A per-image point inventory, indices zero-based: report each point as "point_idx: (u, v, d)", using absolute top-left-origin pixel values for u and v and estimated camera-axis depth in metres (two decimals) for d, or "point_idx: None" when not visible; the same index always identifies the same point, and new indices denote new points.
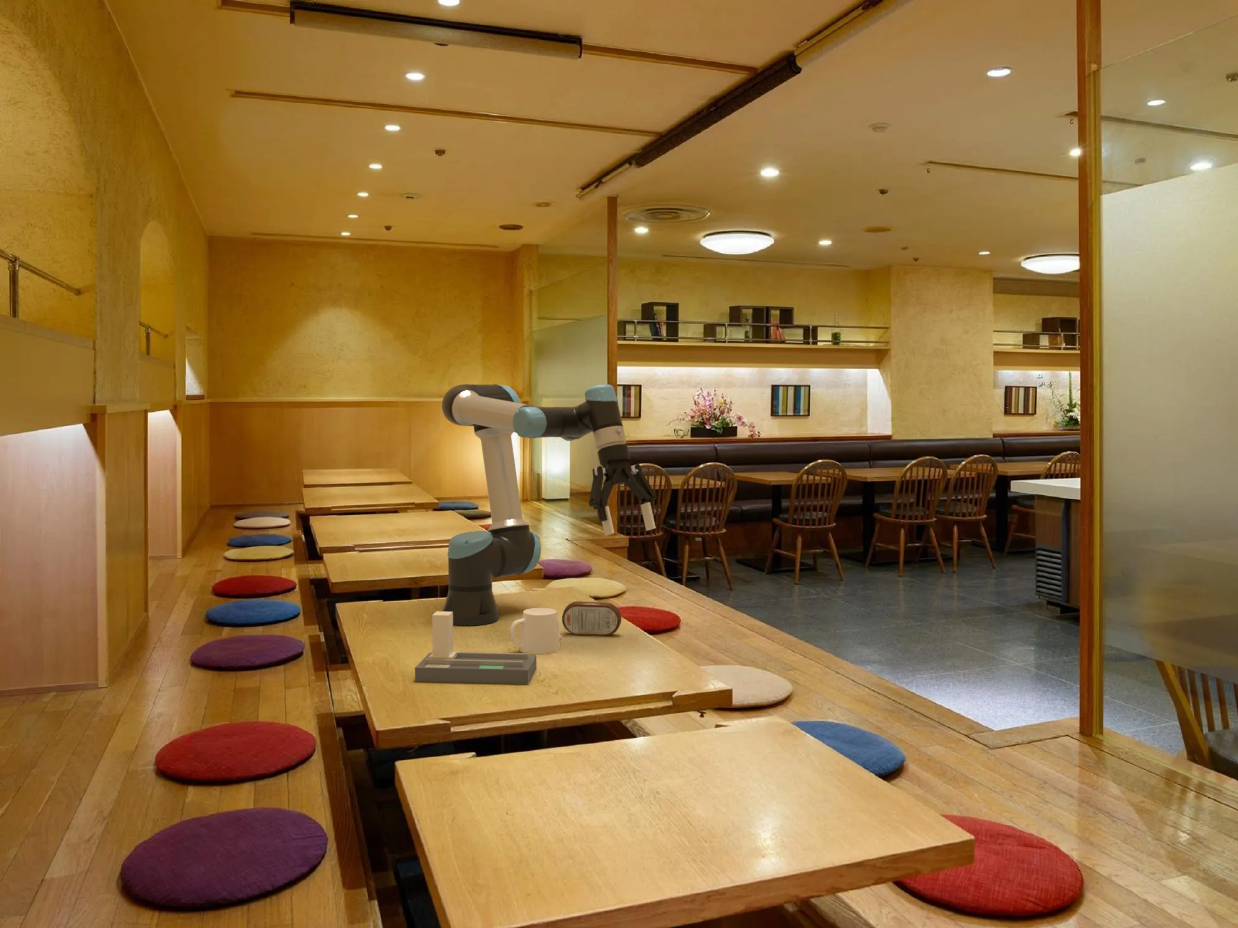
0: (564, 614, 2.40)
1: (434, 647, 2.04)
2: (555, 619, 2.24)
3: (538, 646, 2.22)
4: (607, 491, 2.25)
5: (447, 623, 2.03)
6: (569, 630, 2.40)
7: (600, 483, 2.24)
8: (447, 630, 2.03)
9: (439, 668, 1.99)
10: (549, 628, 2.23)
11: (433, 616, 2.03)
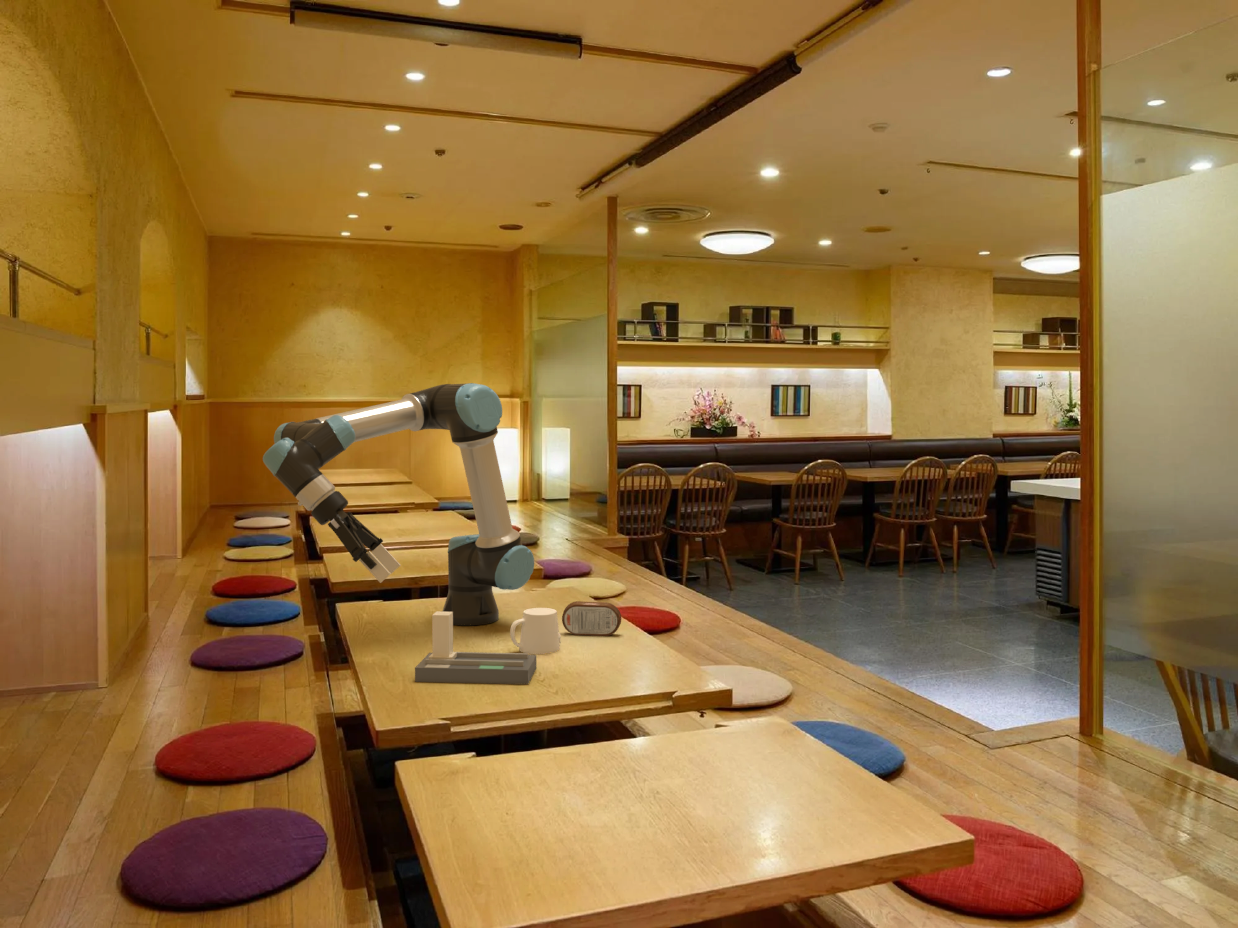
0: (564, 614, 2.40)
1: (434, 647, 2.04)
2: (555, 619, 2.24)
3: (538, 646, 2.22)
4: None
5: (447, 623, 2.03)
6: (569, 630, 2.40)
7: None
8: (447, 630, 2.03)
9: (439, 668, 1.99)
10: (549, 628, 2.23)
11: (433, 616, 2.03)
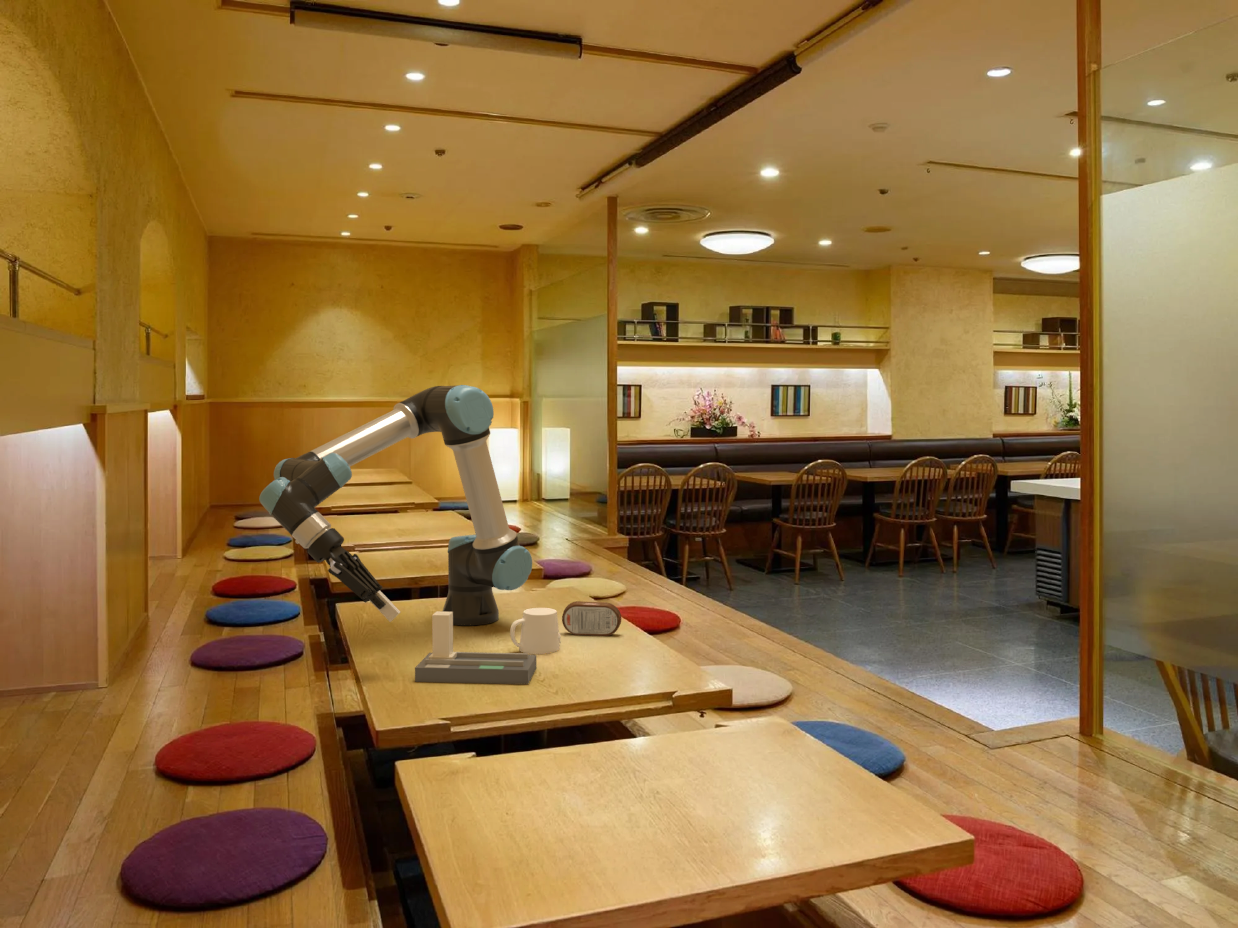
0: (564, 614, 2.40)
1: (434, 647, 2.04)
2: (555, 619, 2.24)
3: (538, 646, 2.22)
4: None
5: (447, 623, 2.03)
6: (569, 630, 2.40)
7: None
8: (447, 630, 2.03)
9: (439, 668, 1.99)
10: (549, 628, 2.23)
11: (433, 616, 2.03)
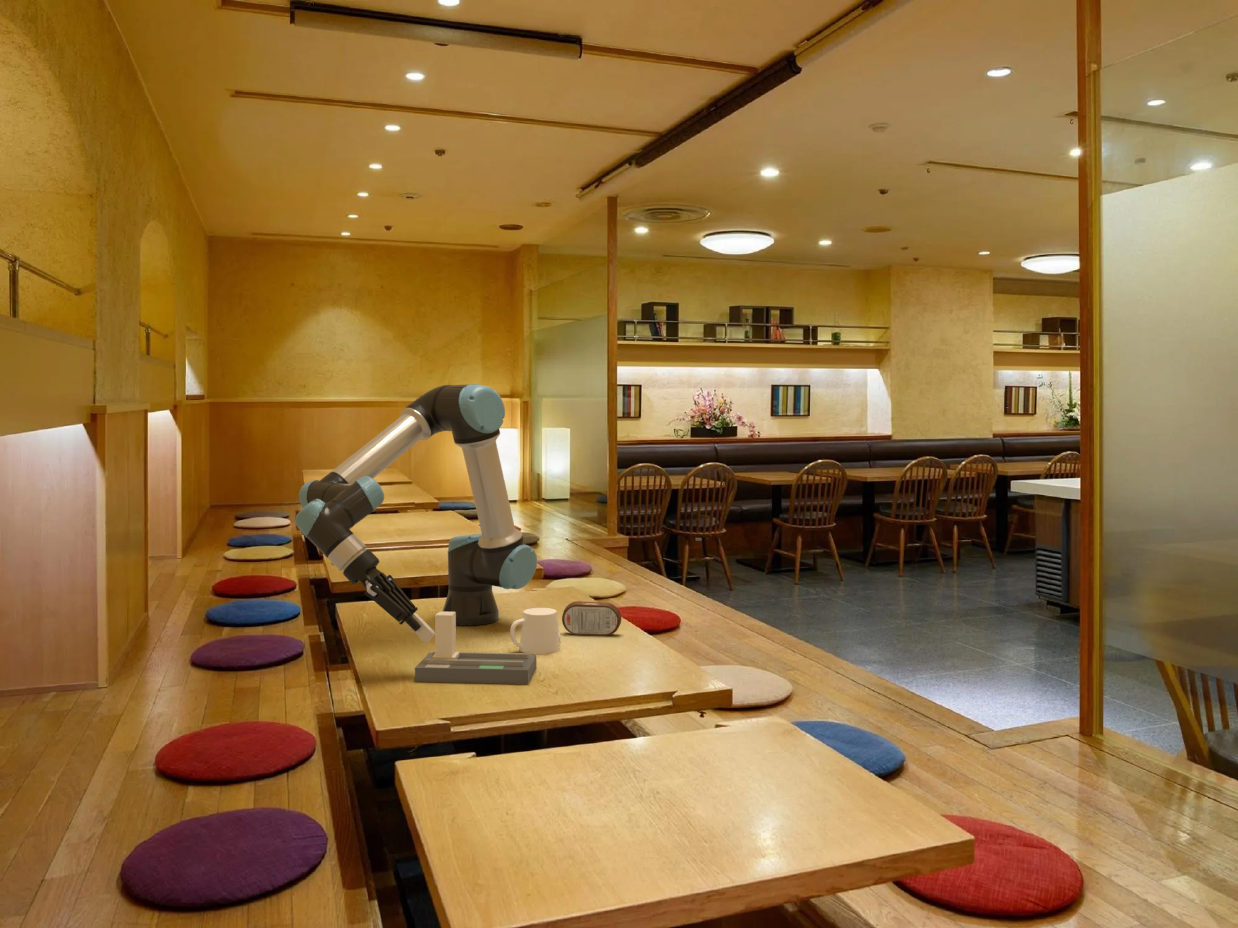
0: (564, 614, 2.40)
1: (437, 647, 2.04)
2: (555, 619, 2.24)
3: (538, 646, 2.22)
4: None
5: (450, 623, 2.03)
6: (569, 630, 2.40)
7: None
8: (450, 630, 2.03)
9: (439, 668, 1.99)
10: (549, 628, 2.23)
11: (436, 616, 2.03)
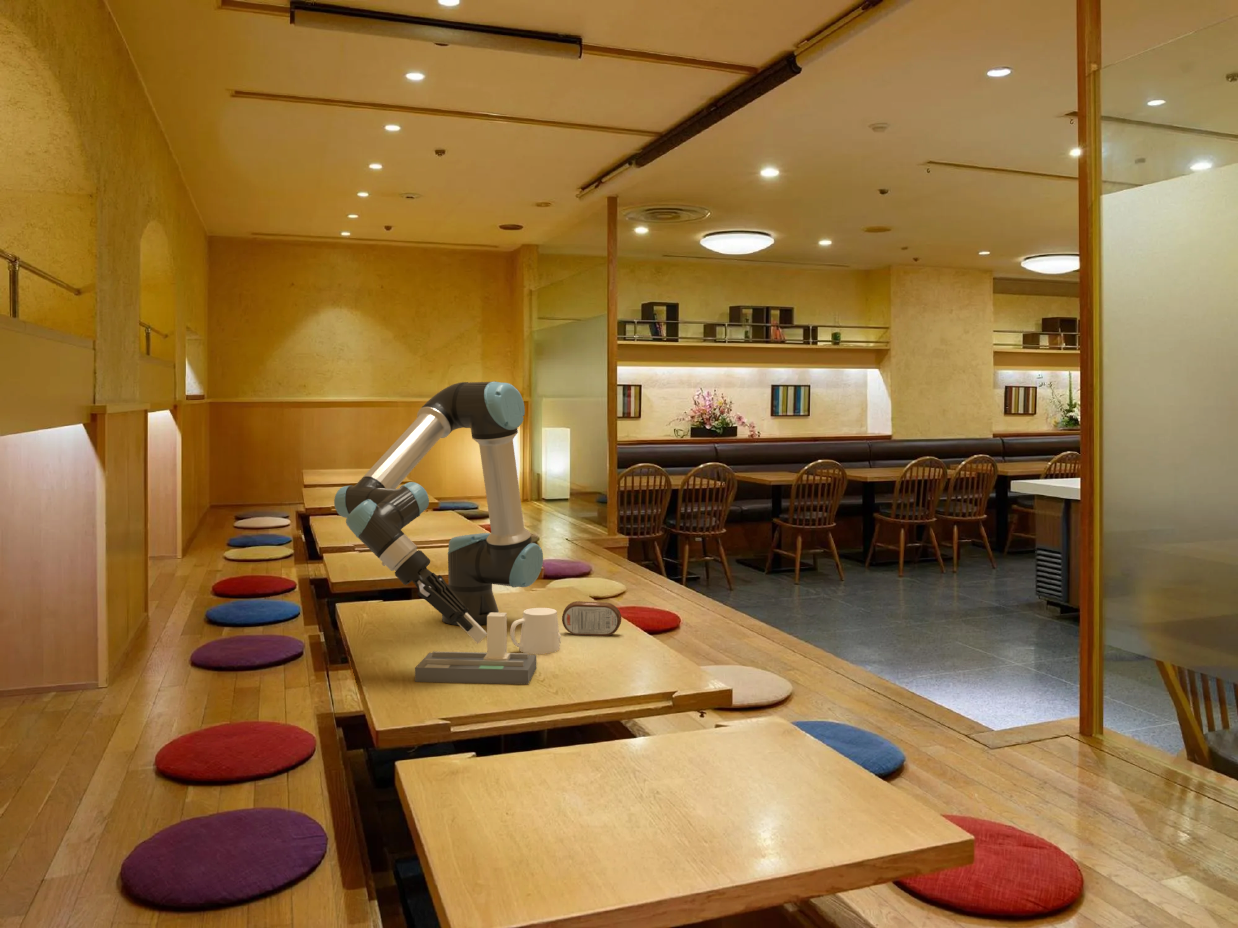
0: (564, 614, 2.40)
1: (489, 648, 2.03)
2: (555, 619, 2.24)
3: (538, 646, 2.22)
4: None
5: (502, 624, 2.02)
6: (569, 630, 2.40)
7: None
8: (502, 631, 2.02)
9: (439, 668, 1.99)
10: (549, 628, 2.23)
11: (488, 617, 2.02)
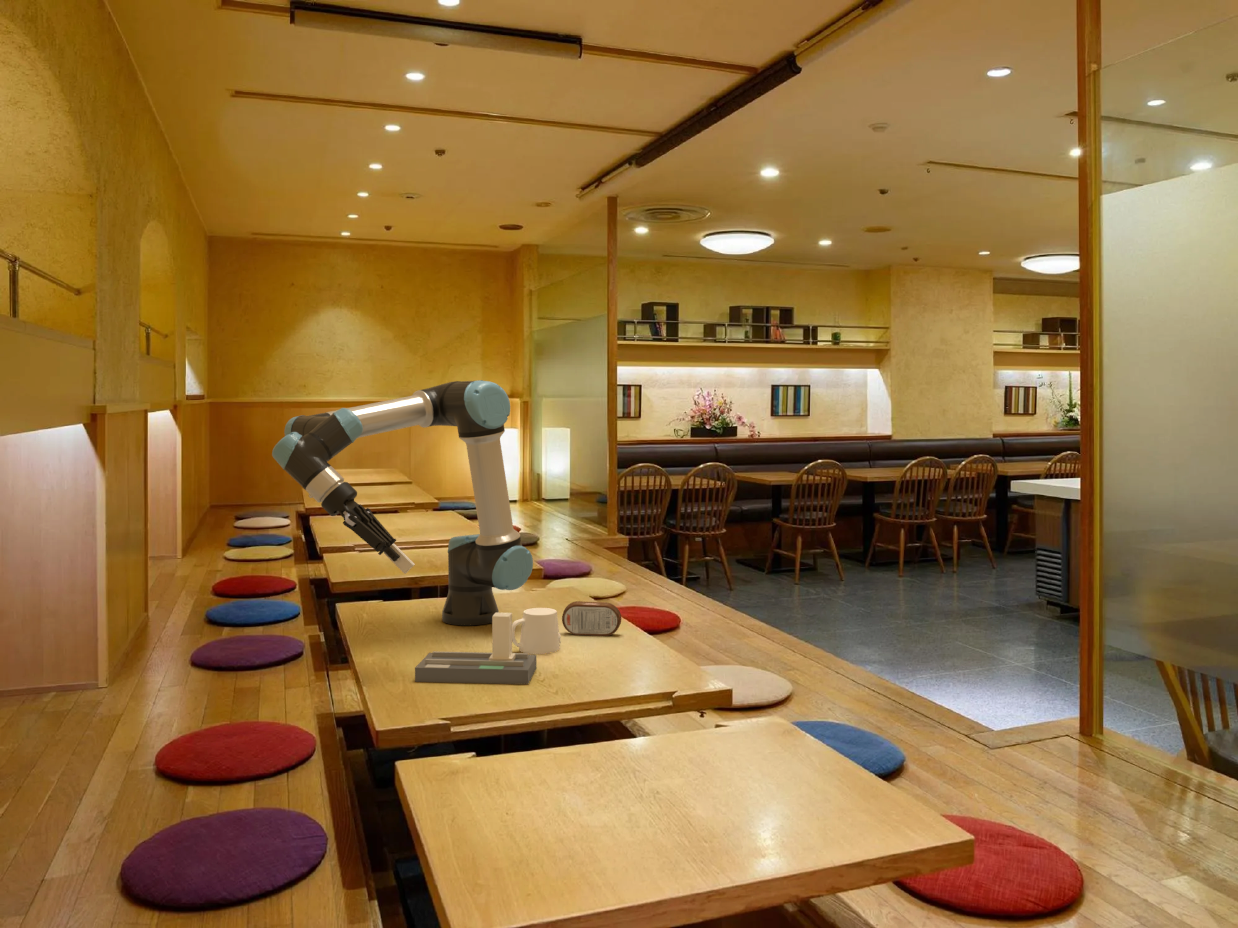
0: (564, 614, 2.40)
1: (494, 648, 2.03)
2: (555, 619, 2.24)
3: (538, 646, 2.22)
4: None
5: (507, 624, 2.02)
6: (569, 630, 2.40)
7: None
8: (507, 631, 2.02)
9: (439, 668, 1.99)
10: (549, 628, 2.23)
11: (493, 617, 2.02)
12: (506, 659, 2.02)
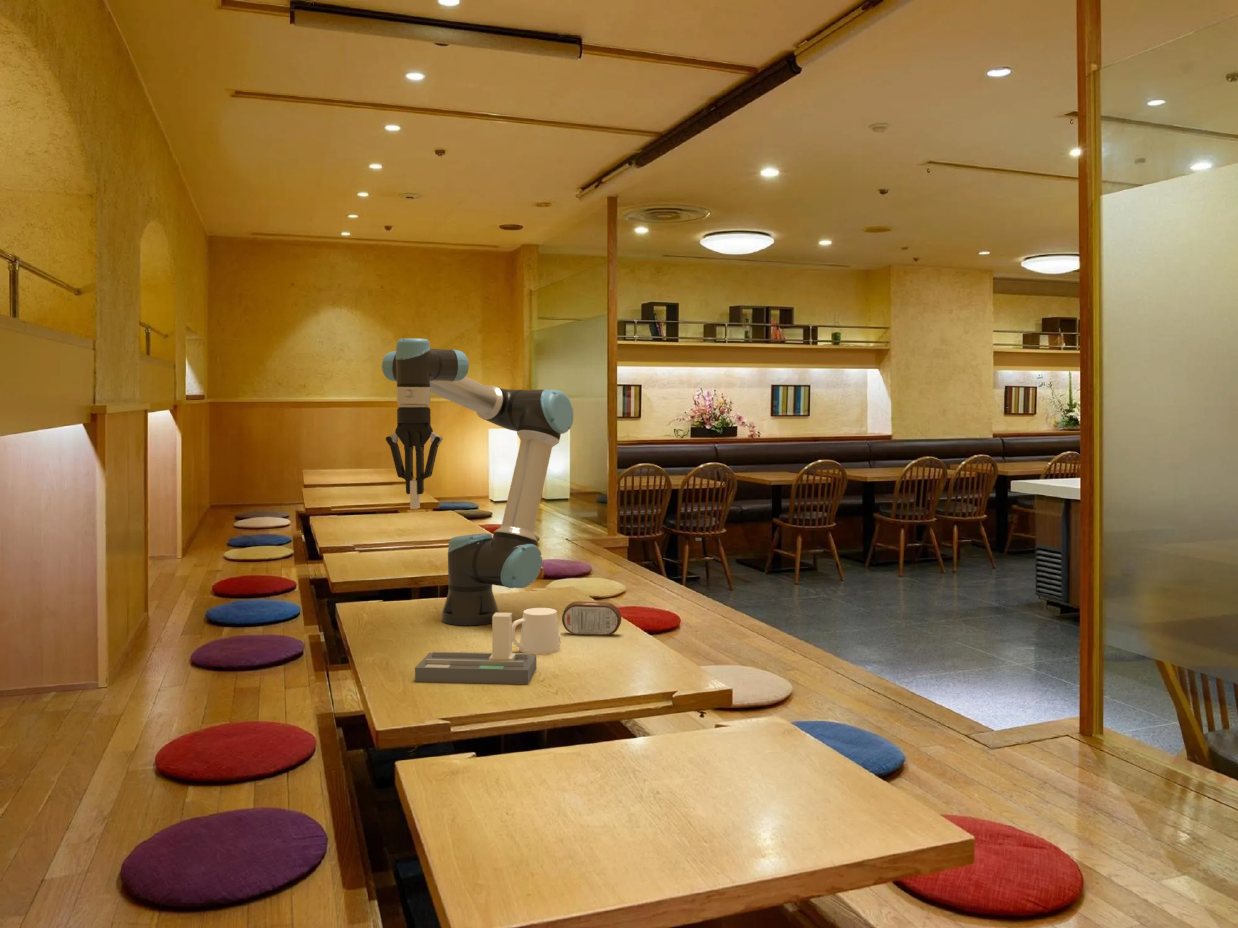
0: (564, 614, 2.40)
1: (494, 648, 2.03)
2: (555, 619, 2.24)
3: (538, 646, 2.22)
4: (406, 462, 2.18)
5: (507, 624, 2.02)
6: (569, 630, 2.40)
7: (395, 454, 2.18)
8: (507, 631, 2.02)
9: (439, 668, 1.99)
10: (549, 628, 2.23)
11: (493, 617, 2.02)
12: (506, 659, 2.02)
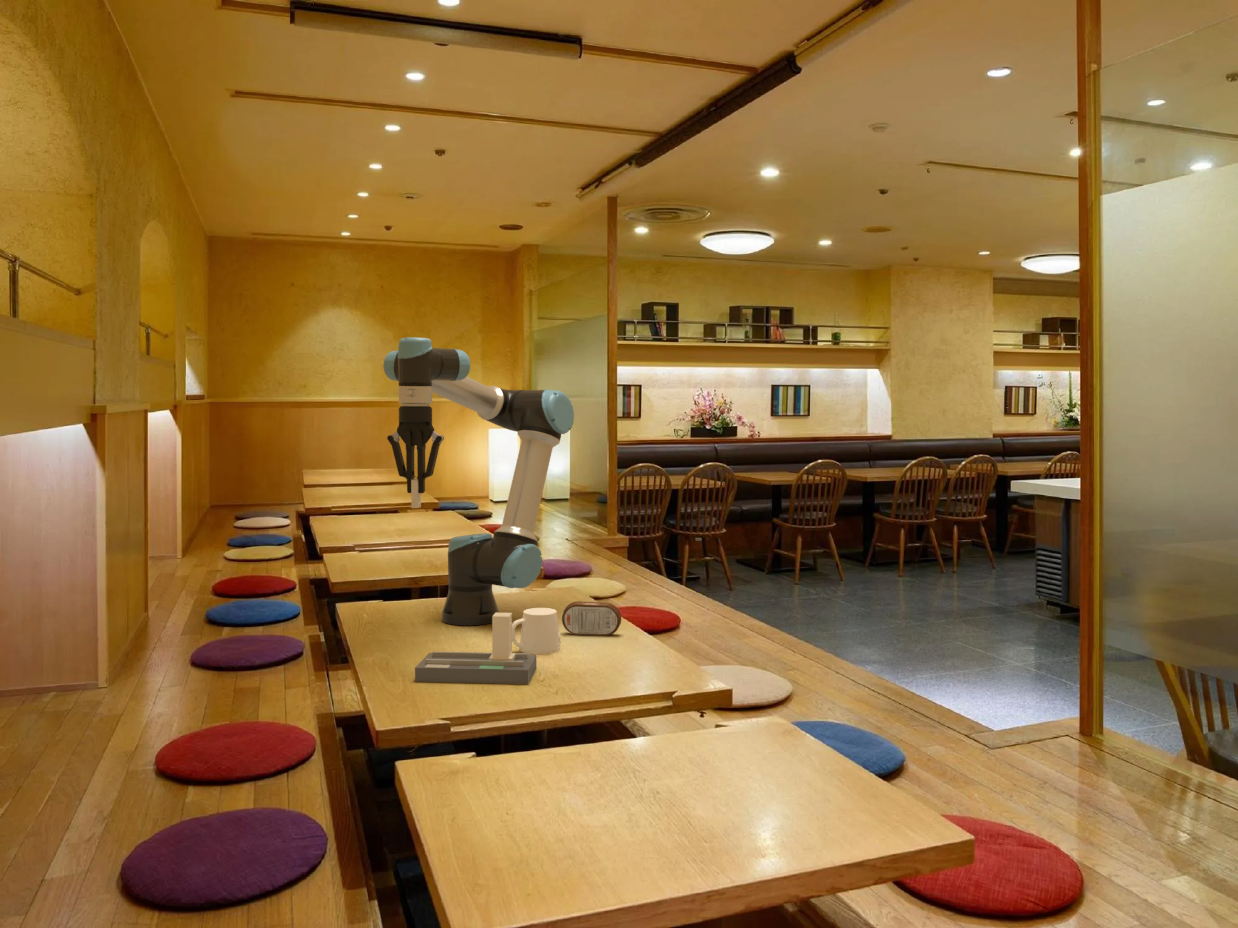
0: (564, 614, 2.40)
1: (494, 648, 2.03)
2: (555, 619, 2.24)
3: (538, 646, 2.22)
4: (407, 461, 2.18)
5: (507, 624, 2.02)
6: (569, 630, 2.40)
7: (396, 453, 2.18)
8: (507, 631, 2.02)
9: (439, 668, 1.99)
10: (549, 628, 2.23)
11: (493, 617, 2.02)
12: (506, 659, 2.02)
